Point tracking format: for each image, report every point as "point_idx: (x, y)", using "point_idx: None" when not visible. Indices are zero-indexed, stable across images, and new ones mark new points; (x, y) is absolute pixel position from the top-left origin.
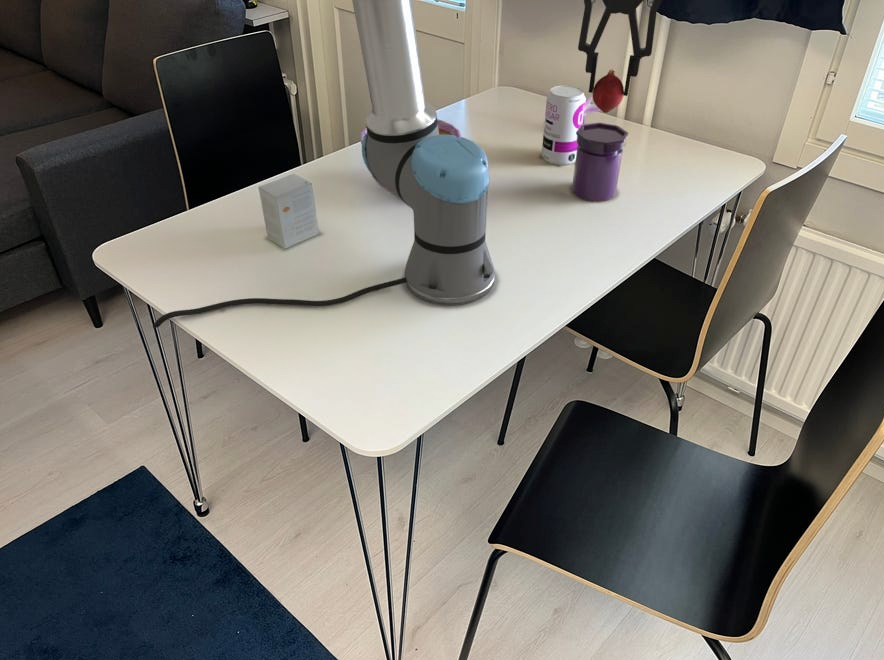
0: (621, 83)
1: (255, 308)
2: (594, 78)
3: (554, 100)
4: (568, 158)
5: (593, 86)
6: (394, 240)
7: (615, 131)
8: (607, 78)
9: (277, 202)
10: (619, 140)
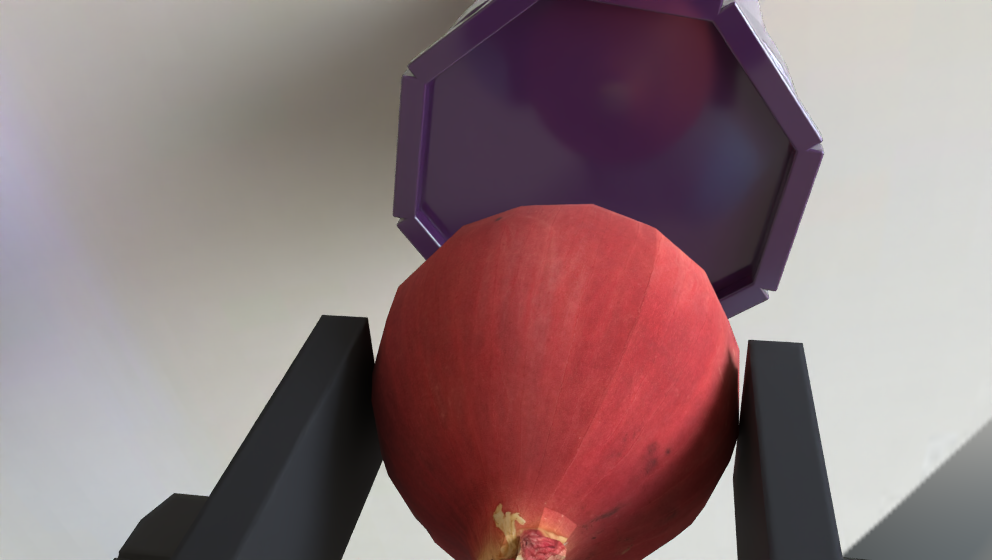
0: (690, 507)
1: None
2: (336, 549)
3: None
4: None
5: (366, 462)
6: (34, 535)
7: (709, 81)
8: None
9: None
10: (738, 311)
